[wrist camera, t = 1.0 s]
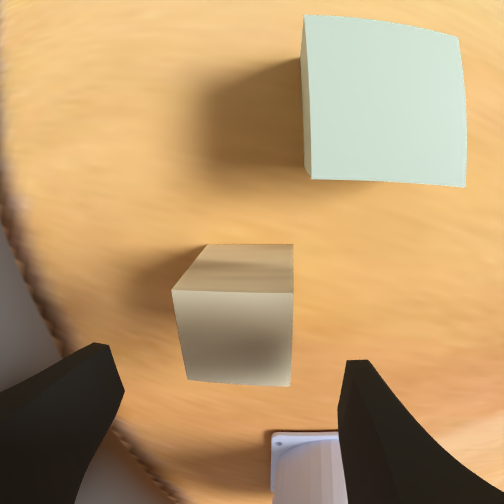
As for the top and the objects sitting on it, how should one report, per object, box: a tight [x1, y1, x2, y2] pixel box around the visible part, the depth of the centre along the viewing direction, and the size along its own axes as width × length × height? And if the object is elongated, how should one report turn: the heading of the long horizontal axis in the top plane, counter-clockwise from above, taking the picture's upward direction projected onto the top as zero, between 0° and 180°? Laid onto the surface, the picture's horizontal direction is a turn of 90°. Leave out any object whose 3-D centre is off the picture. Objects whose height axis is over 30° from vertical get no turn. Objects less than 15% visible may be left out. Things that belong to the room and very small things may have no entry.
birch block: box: [171, 244, 293, 387], centre depth 13 cm, size 4×4×5 cm
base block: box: [300, 15, 467, 188], centre depth 10 cm, size 5×5×5 cm
